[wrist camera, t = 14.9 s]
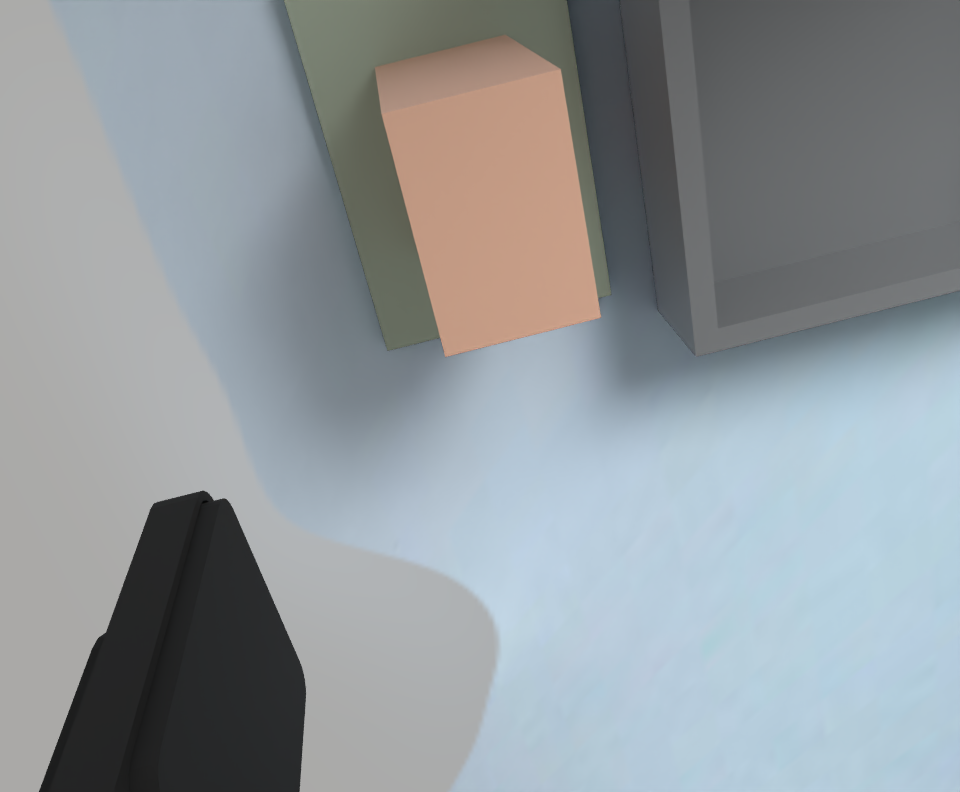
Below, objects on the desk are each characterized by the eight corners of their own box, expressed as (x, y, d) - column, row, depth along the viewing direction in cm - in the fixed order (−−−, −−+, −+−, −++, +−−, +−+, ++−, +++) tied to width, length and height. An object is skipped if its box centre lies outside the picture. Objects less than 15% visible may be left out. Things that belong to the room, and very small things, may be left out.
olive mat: (278, -27, 25) (276, -26, 24) (548, -93, 25) (552, -93, 24) (387, 344, 31) (387, 350, 30) (607, 288, 31) (611, 294, 30)
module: (374, 67, 26) (381, 113, 19) (505, 34, 26) (560, 69, 19) (423, 255, 29) (445, 357, 22) (541, 225, 29) (601, 317, 22)
